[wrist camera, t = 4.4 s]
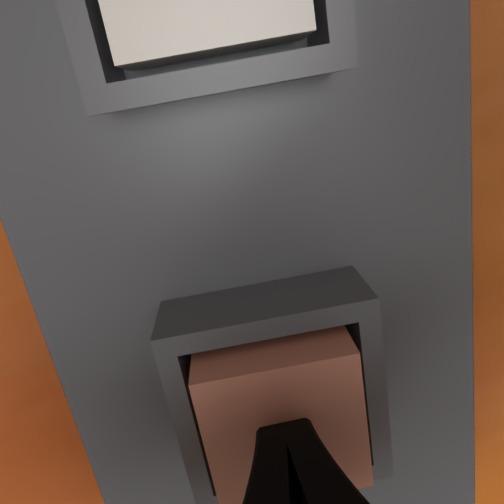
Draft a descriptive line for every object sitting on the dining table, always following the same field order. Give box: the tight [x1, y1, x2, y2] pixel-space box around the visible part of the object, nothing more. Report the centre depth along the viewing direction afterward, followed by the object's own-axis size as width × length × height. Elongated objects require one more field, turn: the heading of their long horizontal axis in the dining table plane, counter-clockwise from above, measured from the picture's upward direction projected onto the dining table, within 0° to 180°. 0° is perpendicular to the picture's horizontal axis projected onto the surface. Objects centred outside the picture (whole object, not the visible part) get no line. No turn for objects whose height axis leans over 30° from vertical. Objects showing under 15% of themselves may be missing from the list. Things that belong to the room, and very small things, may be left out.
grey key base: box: [0, 0, 475, 504], centre depth 13 cm, size 14×28×4 cm, turn 10°
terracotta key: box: [188, 325, 374, 504], centre depth 13 cm, size 4×4×2 cm
